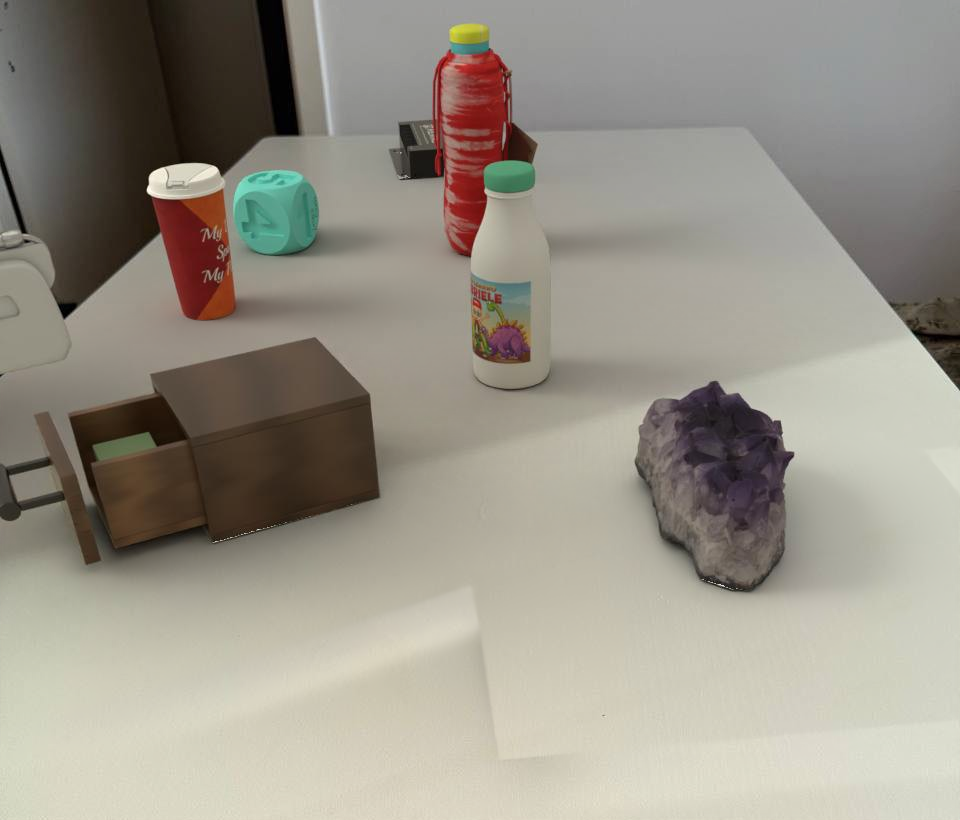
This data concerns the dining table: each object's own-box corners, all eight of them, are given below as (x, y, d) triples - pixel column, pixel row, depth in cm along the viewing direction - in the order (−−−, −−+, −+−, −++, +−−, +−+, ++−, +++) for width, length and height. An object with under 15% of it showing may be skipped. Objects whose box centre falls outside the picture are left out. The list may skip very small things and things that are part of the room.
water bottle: (531, 234, 145) (531, 14, 129) (539, 256, 139) (540, 28, 123) (437, 239, 144) (426, 19, 129) (441, 262, 138) (429, 34, 123)
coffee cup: (238, 323, 126) (214, 183, 116) (165, 325, 126) (135, 186, 116) (251, 294, 132) (230, 159, 123) (181, 295, 132) (154, 161, 123)
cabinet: (212, 544, 91) (190, 438, 85) (172, 474, 100) (149, 373, 94) (380, 497, 96) (370, 393, 90) (327, 434, 105) (315, 336, 99)
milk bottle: (511, 350, 118) (508, 148, 105) (566, 372, 114) (570, 164, 101) (457, 375, 114) (448, 168, 101) (512, 398, 109) (510, 185, 97)
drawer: (22, 583, 86) (-9, 494, 81) (-1, 512, 94) (-30, 428, 89) (253, 519, 92) (237, 433, 87) (213, 458, 100) (197, 376, 95)
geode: (837, 586, 84) (844, 474, 78) (683, 614, 85) (677, 505, 78) (759, 444, 100) (759, 340, 93) (629, 468, 100) (621, 367, 93)
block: (116, 520, 91) (103, 470, 88) (105, 494, 94) (91, 444, 91) (173, 506, 92) (162, 456, 89) (160, 480, 95) (148, 431, 92)
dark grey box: (388, 149, 177) (379, 26, 166) (477, 142, 178) (473, 20, 167) (401, 188, 161) (391, 55, 150) (497, 180, 163) (495, 48, 152)
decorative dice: (295, 257, 141) (286, 191, 136) (238, 252, 143) (227, 187, 138) (322, 236, 147) (315, 172, 142) (267, 231, 149) (258, 167, 144)
